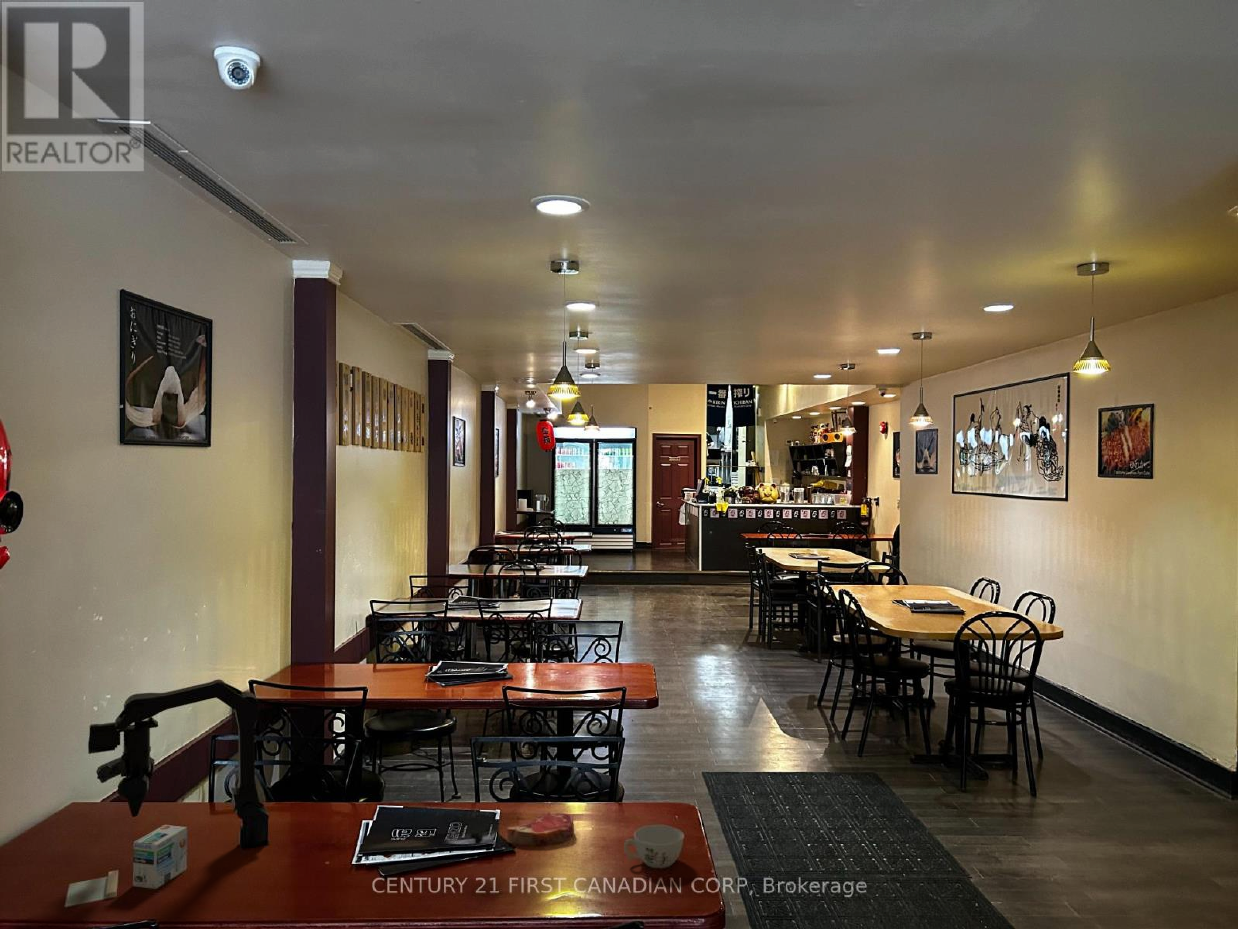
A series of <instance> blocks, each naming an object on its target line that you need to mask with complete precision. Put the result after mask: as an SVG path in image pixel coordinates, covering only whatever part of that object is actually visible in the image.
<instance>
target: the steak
mask: <svg viewBox="0 0 1238 929" xmlns="http://www.w3.org/2000/svg"><path fill="white" fill-rule="evenodd" d="M574 826H575V825H574V819H573V817H572V816H571V815H570V814H567V813H561V812H558V813H554V814H552V815H551V813H550V812H546V813H544V814H541V815H538V816H536V817H535V818H534V819H533V820H532V821H529V822H527V823H525V824H521V825H516V826H515V825H514V826H508V827H507V828H506V834H507V842H508V841H510V842H512V843H511V844H513V843H514V844H515V845H523V846H529V847H530V846H532V847H548V846H553V845H560V844H563V843H566V842H568V841H570V840H571V839H572V838H573V837H574V834H575V827H574ZM510 842H509V843H510ZM514 844H513V845H514Z"/></svg>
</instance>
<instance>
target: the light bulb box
mask: <svg viewBox="0 0 1238 929" xmlns="http://www.w3.org/2000/svg"><path fill="white" fill-rule="evenodd" d="M187 845H188V827H187V826H177V825H170V824H164V825H161V827H160V826H159V828H157V829H154V830H153V831H151V832H150V833H148V834H146V835H144V836H143V837H140V838H139V839H137V840H135V841H133V864H132V866H133V871H132V872H133V876H132V877H133V878H132V883H133V884H132V886H133V887H137V888H146V889H155V890H156V889H158V888H159V887H161V886H163V885H165V884H167V883H168V882H169V881H170V880H172V879H174V878H176V877H177V876H179V875H180V874H182V873H183V872H185V871H186V870H187V861H188V860H187V856H188V854H187V853H188V846H187Z"/></svg>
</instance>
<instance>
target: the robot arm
mask: <svg viewBox="0 0 1238 929" xmlns="http://www.w3.org/2000/svg"><path fill="white" fill-rule="evenodd" d="M212 699H218V700H219V701H221V703H224V704H225V705H227V706H228V707H230V709H233V710H234V714H235V719H236V723H237V729H238V730H237V731H238V783H237V786H236V787H231V794H232V798H231V802H230V803H231V807H232V810H233V812H236V815H237V817H238V818H239V819H241V825H240V826H239V827H238V828H239V829H238V837H239V838H238V843H239V846H241V849H242V850H243V851H246V850H250V849H256V848H260V847H266V846H269V845H270V841H269V818H270V815H269V812H268V810H267V807H266V805H265V804H264V803H263V802H261V801H260V799H259V793H258V790H257V789H258V788H257V785H256V776H255V775H256V771H255V770H256V767H255V765H256V764H255V763H256V762H255V761H256V760H255V758H256V757H255V752H256V751H255V744H256V743H255V740H256V739H255V729H256V726H257V721H258V717H259V711H260V703H259V701H258V698H257V697H256V695H255V693H253V692H251V691H242V690H240V689H239V688H237V687H235V686H233V685H230V684H229V683H226V682H225V681H224V680H222V679H218V678H217V679H215V680H212V681H209V682H204V683H201V684H196V685H192V686H188V687H183V688H179V689H174V690H170V691H166V692H144V693H143V692H141V693H135V694H131V695H130V696H129V697H128V698H127V699H126V700H125V701H124V704H123V710H122V711H121V712H120V713H119V715H118V716H117V717H116V719H115V720H114V722H108V723H107V722H106V723H94V724H93V723H92V724H90V725H89V734H88V736H89V737H88V742H87V743H88V744H87V746H88V748H87V751H88V755H90V754H98V753H103V752H104V753H105V752H106V753H107V752H111V751H116V749H118V746H121V733H123V751H122V755H121V756H120V757H118V758H115V759H112V760H110V761H108V762H106V763H104V764H101V765H99V766H98V767H97V769H96V771H95V773H96V775H97V777H96V779H97V780H99V782H100V783H101V784H104V783H106V782H108V780H112V779H113V778H116V777H118V776H119V775H120V778H122V779H121V780H120V781H119V783H118V785H117V795H118V796H120V797H123V798H125V799H126V801H127V804H128V807H129V811H130V814H131V817H132V818H136V817H138V815H139V813H140V810H141V808H142V805H143V803H144V800H145V799H146V798H145V797H146V795H147V792H148V790H149V786H150V781H151V780H152V776H153V774H154V770H155V759H154V758H153V757H152V756H151V752H152V746H151V729H153V728H158V727H159V722H158V720H156V719H155V718H153V717H156V716H157V715H158V714H160V713H162V712H165V711H167V710H171V709H175V708H179V707H183V706H186V705H191V704H195V703H199V702H204V701H208V700H212Z"/></svg>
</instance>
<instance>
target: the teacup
mask: <svg viewBox="0 0 1238 929" xmlns="http://www.w3.org/2000/svg"><path fill="white" fill-rule="evenodd" d="M684 839H685V834H684V833H683V832H682V831H681V830H680V829H678V828H676V827H673V826H670V825H666V824H650V825H645V826H642V827H639V828H638V829H636V830H635V832H634V833H633V839H632V838H628V839H626V840H625V842H624V844H623V845H624V846H623V850H624V852H625V854H626V855H627V856H629V857H632V858H636V859H637V858H638V859H640V860H641V861H642V862H643V863H644V864H645V865H647V867H650V868H653V869H666V868H668V867H671V866H672V865H673V864H674V863H675V862H676V861H677V859H678V858H679V855H680V853H681V851H682V848H683V843H684ZM630 844H632V845H633V847H634V849H636V852H637V854H635V853H632V852H630V851H629V850H628V845H630Z"/></svg>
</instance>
